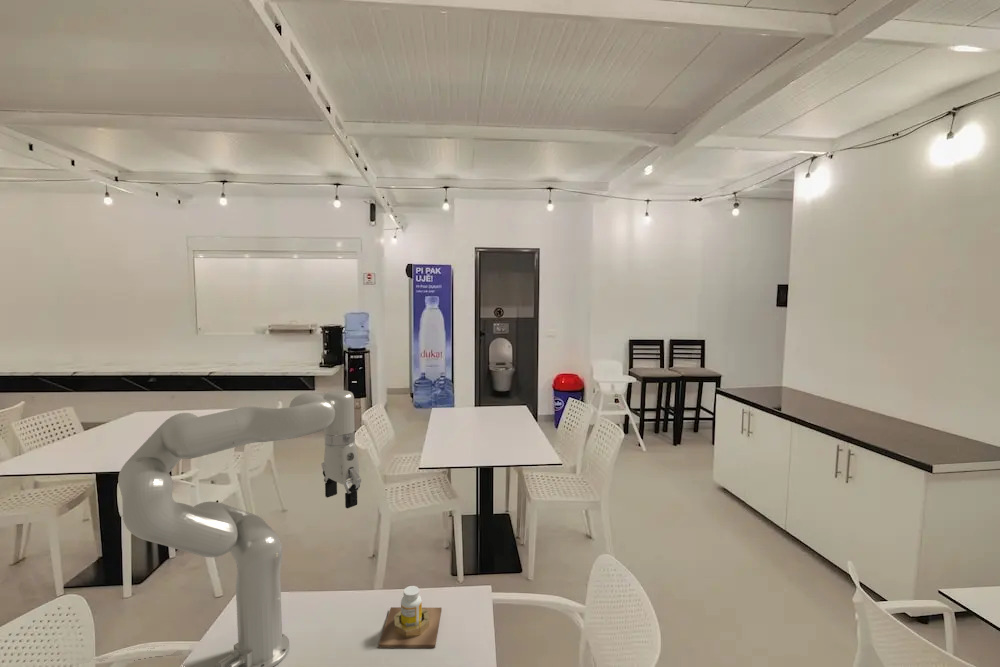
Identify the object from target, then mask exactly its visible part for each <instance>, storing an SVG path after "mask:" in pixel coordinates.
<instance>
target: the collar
mask: <svg viewBox="0 0 1000 667" xmlns="http://www.w3.org/2000/svg"><path fill="white" fill-rule="evenodd" d="M423 608H424V607H422V619H423V621H422V622H421V623H420V624H419V625H416V626H410V627H407V626H404V625H402V624H400V622H401V611H400V612H398V613H397V614H396V615H395V616H394V625H395V633H397V634H399V635H401V636H403V637H405V638H408V637H414V636H420V635H421V634H422V633H423V632H425V631H426V630H427V629H428V628H429V614H428V611H427V610H425V609H423Z"/></svg>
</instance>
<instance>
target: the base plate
mask: <svg viewBox="0 0 1000 667" xmlns="http://www.w3.org/2000/svg"><path fill="white" fill-rule="evenodd" d="M422 608H423V609H425V610H427V611H428V614H429V628H428V629H427V630H426V631H425V632H423V633H422V634H421V635H420V636H414V637H408V638H405V637H403V636H401V635H399V634H397V633H395V625H394V616H395V615H396V614H397V613H398V612H400V611H401V606H400V607H396V606H395V607H390V608H389V609H390V610H389V612H388V615H387V618H386V621H385V623H384V627H383V630H382V634H381V636H380V638H379V639H380V640H379V641H378V648H381V649H382V648H385V649H386V648H388V649H389V648H392V649H393V648H397V649H398V648H404V649H405V648H407V649H409V648H410V649H411V648H414V649H415V648H416V649H418V648H420V649H423V648H424V649H429V648H431V649H433V648H436V646H437V645H436V644H437V639H438V634H439V633H438V632H439V627H440V622H441V614H442V610H443V609H442V607H422ZM422 621H423V619H422ZM400 624H401V622H400Z"/></svg>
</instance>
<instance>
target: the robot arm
mask: <svg viewBox="0 0 1000 667" xmlns="http://www.w3.org/2000/svg"><path fill="white" fill-rule="evenodd" d="M355 426H356V425H355V396H354V393H353V392H352V391H349V390H344V389H342V390H340V389H339V390H332V391H329V392H315V393H314V392H307V393H301V394H299V395H297V396H295V397H294V398H292V400H291V401H290V403H289V406H288V407H281V408H279V407H278V408H276V407H275V408H272V407H271V408H270V407H262V406H241V407H237V408H233V409H227V410H224V411H219V412H216V413H210V414H206V415H201V416H198V415H196V414H194V413H190V412H180V413H177V414H174V415H172V416H170V417H169V418H168V419H166V420H165V421H164V422H162V424H161V425H160V426H159V427H158V428H157V429H156V430H155V431H154V432H153V433H152V434H151V435H150V436H149V437H148V438H147V439H146V440H145V442H144V443H143V444H142V445H141V446H140V447H139V448H138V449H137V450H136V451H134V453H133V454H132V455H131V456H130V458H129V459H127V461H125V463H124V464H123V466H122V467H121V469H120V471H119V473H118V478H117V479H118V482H117V483H118V484H117V485H118V486H119V490H120V494H121V498H122V499H121V501H122V507H121V508H122V520H123V523H124V525H125V527H126V529H127V530H128V532H130V533H131V535H133V536H135V537H136V538H138V539H141V540H144V541H147V542H150V543H154V544H158V545H161V546H165V547H169V548H172V549H175V550H179V551H183V552H186V553H190V554H193V555H198V556H200V557H204V558H210V559H211V558H212V559H213V558H218V557H222V556H224V555H226V554H228V553H229V552H230V554H231V556H232V558H233V559H234V562H235V565H236V569H237V570H236V572H237V574H236V580H235V600H236V619H237V620H236V621H237V622H236V623H237V624H236V626H237V643H235V644H233V650H232V651H231V652H230V653H229V655H228V656H226V657H224V658H222V659H221V660H219V661H217V663H216V667H275V666H277V665H278V664H280V663H281V662H282V661H283V660H284V658H286V656H287V655H288V653H289V650H290V639H289V637H288V636H287V635H286V634H284V633H283V620H282V619H283V618H282V617H283V616H282V588H281V587H282V586H281V569H282V568H281V566H282V559H283V544H282V542H281V539H280V537H279V535H278V534H277V533H276V531H274V530H273V528H272V527H271V526H269V524H268V523H267V522H266V521H265V520H264V519H263V518H262V517H260V516H259V515H256V514H254V513H251V512H249V511H245V510H243V509H240V508H237V507H234V506H230V505H228V504H225V503H222V502H218V501H204V502H200V503H198V504H195V505H190V504H186V503H182V502H176V501H175V500H174V498H173V492H174V491H173V488H174V482H173V478H172V476H171V474H170V472H171V471H173V469H174V468H175V467H176V466H177V465H178V464H179V463H180V462H181V460H191V459H196V458H201V457H204V456H207V455H212V454H215V453H218V452H222V451H225V450H229V449H230V450H231V449H233V448H238V447H241V446H245V445H246V446H247V445H249V444H253V443H255V444H256V443H267V442H276V441H285V440H291V439H297V438H302V437H304V436H308V435H311V434H315V433H319V432H322V431H324V459H323V460H324V461H323V462H322V463H321V468H322V475H323V477H324V478H323V482H324V486H325V487H324V489H325V490H324V492H325V493H324V494H325V498H327V499H328V498H330V497H334V496H336V495H338V484H340V485H343V487H344V489H345V491H346V492H345V494H344V499H345V502H344V504H345V506H344V507H345V508H346V509H350V508H353V507H355V506H357V505H358V491H359V489H360V486H361V482H362V477H361V476H360V466H359V455H358V448H357V446H356V443H355V442H356V439H355V438H356V435H355V431H356V429H355ZM350 484H351V485H350Z"/></svg>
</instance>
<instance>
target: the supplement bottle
mask: <svg viewBox="0 0 1000 667" xmlns="http://www.w3.org/2000/svg"><path fill="white" fill-rule="evenodd" d="M422 602H423V601H422V596H421V595H420V588H419V587H418V586H416V585H409V586H407V587H405V588H404V589H403V597H402V598H401V600H400V607H401V624H402V625H404V626H407V627H410V626H416V625H419V624H420V623H421V622H422V608H423V607H422V606H423V605H422V604H423V603H422Z"/></svg>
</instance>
